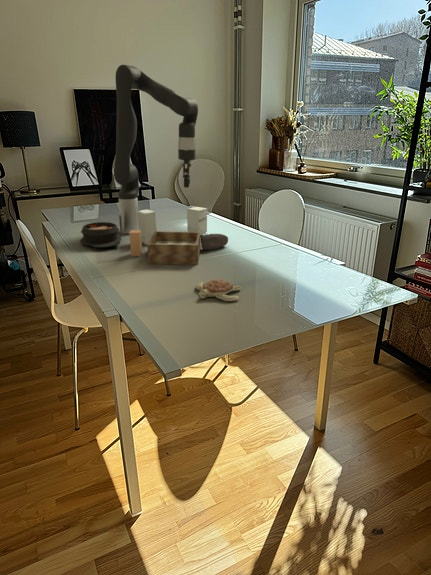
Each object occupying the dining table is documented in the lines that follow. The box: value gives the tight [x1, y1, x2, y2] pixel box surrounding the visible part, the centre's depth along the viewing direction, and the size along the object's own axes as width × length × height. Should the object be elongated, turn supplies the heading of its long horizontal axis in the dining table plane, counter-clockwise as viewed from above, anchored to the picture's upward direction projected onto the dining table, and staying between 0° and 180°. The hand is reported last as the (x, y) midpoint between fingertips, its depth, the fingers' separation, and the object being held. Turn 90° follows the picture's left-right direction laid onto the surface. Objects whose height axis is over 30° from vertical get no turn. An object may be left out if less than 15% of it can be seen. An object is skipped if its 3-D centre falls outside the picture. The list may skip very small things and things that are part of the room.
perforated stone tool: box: [200, 233, 229, 251], centre depth 188 cm, size 15×5×7 cm, turn 120°
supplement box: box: [186, 206, 208, 235], centre depth 211 cm, size 7×7×13 cm
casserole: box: [80, 221, 123, 249], centre depth 193 cm, size 25×19×8 cm
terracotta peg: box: [129, 230, 143, 257], centre depth 178 cm, size 4×4×10 cm
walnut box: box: [146, 230, 201, 265], centre depth 176 cm, size 20×20×8 cm
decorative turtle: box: [195, 279, 242, 302], centre depth 141 cm, size 18×17×5 cm
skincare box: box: [137, 208, 158, 246], centre depth 194 cm, size 8×6×15 cm
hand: (186, 185), depth 190 cm, fingers open, 8 cm apart
